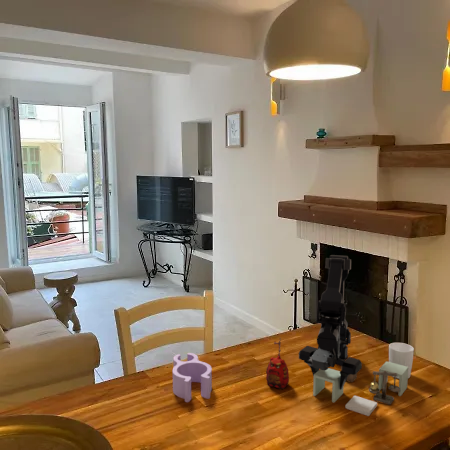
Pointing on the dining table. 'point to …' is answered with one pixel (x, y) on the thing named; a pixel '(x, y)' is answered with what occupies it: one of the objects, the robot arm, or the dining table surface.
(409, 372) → the white cup
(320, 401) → the dining table surface
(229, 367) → the dining table surface
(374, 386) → the bronze balance
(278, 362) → the red clay folk toy
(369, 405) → the grey ceramic tile
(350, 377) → the walnut block
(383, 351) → the dining table surface
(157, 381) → the dining table surface
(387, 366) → the green cover right
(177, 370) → the clip
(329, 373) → the green cover left
